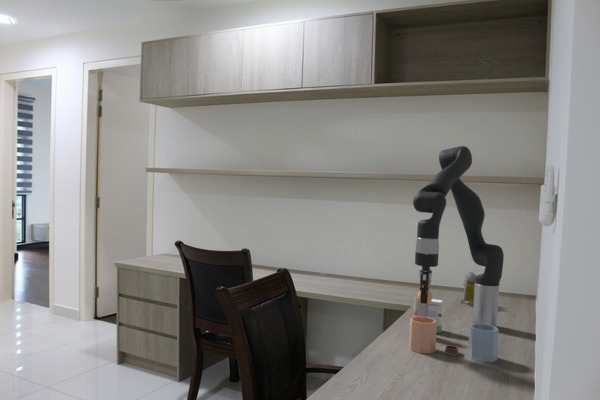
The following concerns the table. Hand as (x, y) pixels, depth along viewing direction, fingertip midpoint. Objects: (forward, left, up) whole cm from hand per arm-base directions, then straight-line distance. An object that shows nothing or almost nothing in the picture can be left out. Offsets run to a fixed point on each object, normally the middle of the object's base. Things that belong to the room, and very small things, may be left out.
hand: (424, 301), depth 166 cm
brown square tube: (-5, +9, -16) cm, 19 cm away
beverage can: (-14, -9, -16) cm, 23 cm away
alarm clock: (-77, -23, -16) cm, 82 cm away
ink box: (-23, -10, -17) cm, 30 cm away
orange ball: (0, 0, +2) cm, 2 cm away
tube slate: (-9, +17, -16) cm, 25 cm away
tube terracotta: (0, 0, -16) cm, 16 cm away
